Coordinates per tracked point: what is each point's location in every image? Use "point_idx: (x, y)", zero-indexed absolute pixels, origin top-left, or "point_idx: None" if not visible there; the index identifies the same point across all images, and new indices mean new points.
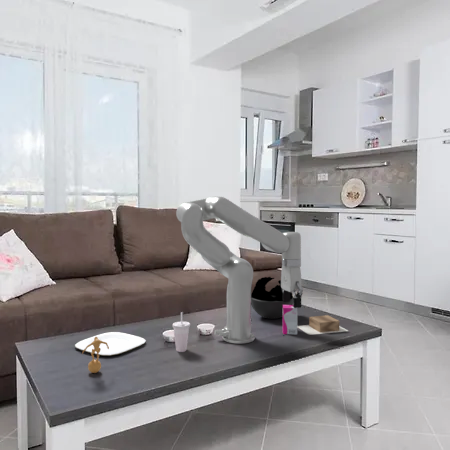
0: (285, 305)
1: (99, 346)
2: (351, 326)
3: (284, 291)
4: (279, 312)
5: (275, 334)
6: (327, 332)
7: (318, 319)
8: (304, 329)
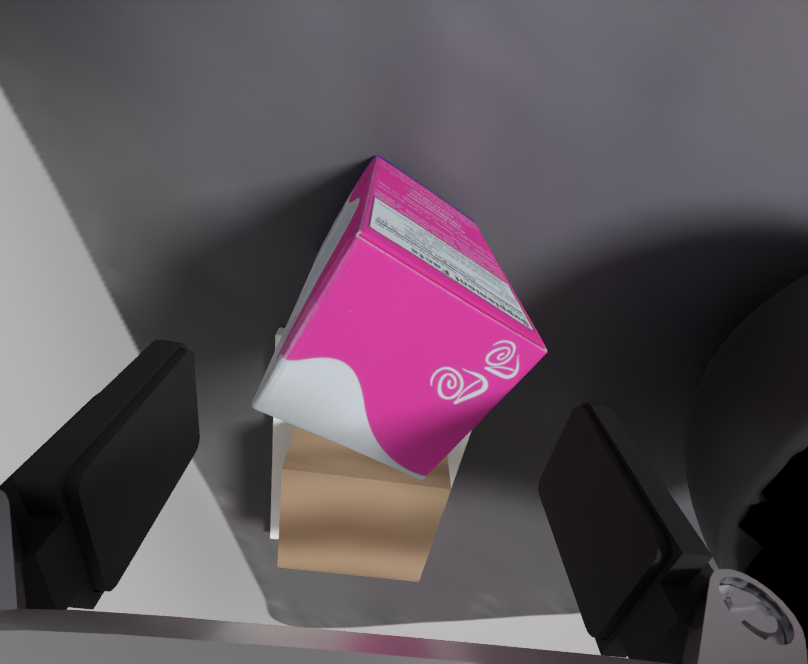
0: (478, 355)
1: None
2: (359, 582)
3: (693, 609)
4: (711, 375)
5: (443, 110)
6: (282, 449)
7: (360, 500)
8: None
